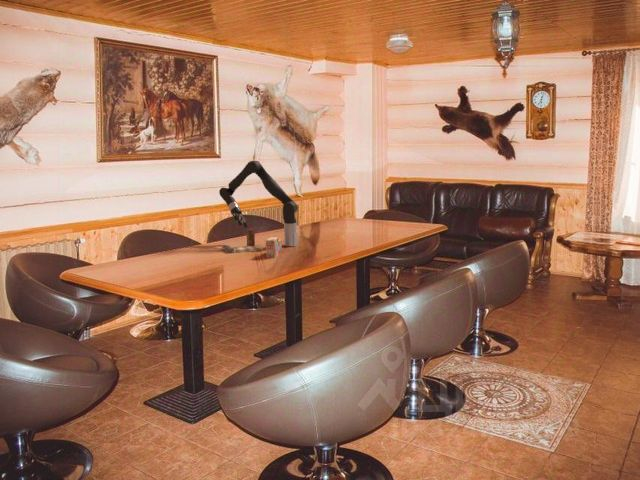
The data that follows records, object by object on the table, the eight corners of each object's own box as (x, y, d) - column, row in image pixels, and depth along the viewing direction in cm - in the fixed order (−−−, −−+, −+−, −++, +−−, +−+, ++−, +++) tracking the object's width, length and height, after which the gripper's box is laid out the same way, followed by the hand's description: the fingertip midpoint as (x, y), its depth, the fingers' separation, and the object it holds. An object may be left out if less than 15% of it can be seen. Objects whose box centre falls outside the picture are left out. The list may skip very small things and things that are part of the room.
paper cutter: (254, 246, 457) (254, 242, 456) (262, 250, 442) (262, 246, 441) (222, 249, 445) (222, 245, 445) (229, 253, 430) (229, 248, 430)
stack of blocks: (273, 252, 435) (272, 235, 433) (281, 252, 434) (281, 235, 432) (265, 257, 414) (265, 240, 412) (274, 258, 413) (274, 240, 411)
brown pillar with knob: (252, 246, 455) (252, 228, 452) (254, 247, 451) (254, 228, 448) (246, 247, 453) (246, 228, 450) (249, 248, 449) (248, 229, 446)
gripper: (234, 204, 459) (243, 221, 453) (243, 208, 472) (252, 225, 466) (226, 210, 460) (235, 227, 455) (235, 214, 473) (244, 230, 468)
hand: (244, 226), depth 460 cm, fingers open, 8 cm apart
